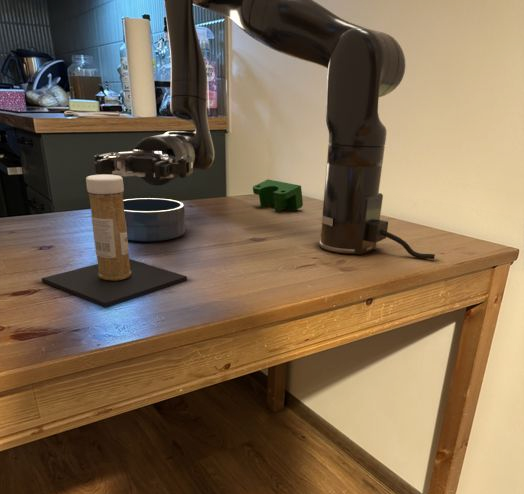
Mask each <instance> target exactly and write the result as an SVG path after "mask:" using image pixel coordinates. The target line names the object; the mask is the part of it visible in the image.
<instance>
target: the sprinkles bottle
mask: <svg viewBox="0 0 524 494" xmlns="http://www.w3.org/2000/svg"><path fill="white" fill-rule="evenodd" d="M85 182H86V191H87V192H88V197H89V205H90V212H91V215H90V217H91V225H92V232H93V240H94V250H95V255H96V260H97V264H98V268H99V273H98V276H99V277H100V278H101V279H103V280H108V281H118V280H124V279H126V278H128V277H130V276H131V270H130V263H129V259H130V249H129V240H128V239H127V229H126V220H125V214H124V204H123V200H124V191H125V187H124V179H123V176H119V175H118V174H111V175H107V174H102V175H98V174H92V175H88V176H86V177H85Z"/></svg>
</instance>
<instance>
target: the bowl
mask: <svg viewBox="0 0 524 494" xmlns="http://www.w3.org/2000/svg"><path fill="white" fill-rule="evenodd" d="M123 204H124V214H125V220H126V229H127V239H128V241H131V242H139V243H141V242H143V243H148V242H149V243H154V242H164V241H169V240H173V239H175V238H179V237H180V236H184V234H185V233H186V219H185V218H186V215H185V213H186V212H185V204H184V203H183V202H182V201H179V200H174V199H167V198H153V197H152V198H151V197H148V198H147V197H146V198H145V197H144V198H142V197H141V198H128V199H123Z"/></svg>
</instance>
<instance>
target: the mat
mask: <svg viewBox="0 0 524 494" xmlns="http://www.w3.org/2000/svg"><path fill="white" fill-rule="evenodd" d="M129 263H130V270H131V276H130V277H128V278H126V279H124V280H118V281H108V280H103V279H101V278H100V277H99V276H98V273H99V268H98V263H96V264H92V265H88V266H83V267H79V268H75V269H73V270H67V271H64V272H60V273H57V274H56V273H55V274H53V275H49V276H44V277H41V282H42V283H44V284H46V285H48V286H52V287H54V288H55V289H58V290H61V291H64V292H66V293H68V294H71V295H74V296H77V297H79V298H81V299H84V300H86V301H89V302H91V303H93V304H96V305H98V306H101V307H103V308H109V307H111V306H115V305H117V304H120V303H122V302H126V301H128V300H129V301H130V300H131V299H134V298H138V297H141V296H144V295H147V294H150V293H153V292H156V291H158V290H162V289H165V288H167V287H171V286H174V285H176V284H181V283H183V282H185V281H188V276H187V275H185V274H180V273H177V272H175V271H171V270H167V269H164V268H160V267H157V266H154V265H151V264H148V263H144V262H141V261H138V260H135V259H131V258H129Z"/></svg>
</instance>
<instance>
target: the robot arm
mask: <svg viewBox="0 0 524 494" xmlns="http://www.w3.org/2000/svg"><path fill="white" fill-rule="evenodd" d="M163 2H164V3H163V4H164V10H165V19H166V27H167V28H166V29H167V34H168V44H169V53H170V112H171V115H172V116H173V117H175V118H177V119H178V120H183V121H185V122H186V121H187V122H189V123H192V124H193V126H194V131H180V130H179V131H177V130H176V131H175V130H172V131H166V132H165V133H163V134H157V135H152V136H147V137H144V138H142V139H141V140H140V141H138V142H137V144H136V145H135V147H134V149H133V150H131V151H120V152H119V151H118V152H113V151H110V152H108V153H103V154H96V155H93V163H94V170H95V171H94V172H95V174H96V175H102V174H107V175H118V176H121V177H122V178H123V177H124V178H126V177H127V178H128V177H139V178H140V179H141V180H143V182H145V183H146V184H147V185H151V186H164V185H167V184H168V183H171V182H172V181H174V180H176V179H178V178H181V179H186V178H187V177H189V176H190V175H191V174H193V173H194V171H206V170H208V169H210V168H211V166H212V164H213V162H214V160H215V147H214V144H213V143H214V142H213V139H212V135H211V130H210V126H209V119H208V106H207V105H208V72H207V64H206V60H205V57H204V53H203V50H202V47H201V43H200V40H199V36H198V31H197V27H196V22H195V17H194V6H196V7H198V8H200V9H204V10H207V11H209V12H213V13H216V14H219V15H220V16H222V17H223V16H224V17H226V18H228V19H230V20H231V21H232V22H233V23H234V24H236V26H237V27H239V29H240V30H242V31H243V32H244V33H245V34H247V35H248V36H249V37H251V38H252V39H254V40H255V41H257V42H259V43H261V44H262V45H264V46H266V47H268V48H269V49H271V50H273V51H276V52H278V53H280V54H284V55H286V56H289V57H291V58H295V59H297V60H301V61H305V62H309V63H312V64H315V65H318V66H321V67H323V68H326V69H327V76H326V98H325V99H326V100H325V122H326V127H327V131H328V143H327V144H328V145H327V157H326V168H325V180H324V193H323V204H322V216H321V230H320V239H319V247H320V248H322V249H323V250H326V251H329V252H333V253H339V254H351V255H353V254H354V255H359V256H361V255H363V254H366V253H368V252H371V251H373V250H376V249H377V244H378V242H381V241H384V240H386V239H390V240H392V241H394V242H396V243H397V244H399V245H401V246H402V248H404V250H405V251H406V252H407V253H408V254H409V255H410V256H411V257H413V258H416V259H421V260H422V259H423V260H435V257H436V254H435V253H420V252H417V251H415V250H414V249H412V247H411V246H410V245H409V243H407V241H405V240H403V239H402V238H401V237H399V236H397V235H395V234H393V233H391V232H388V228H389V220H388V221H387V220H383V219H381V214H382V206H383V198H384V195H383V193H382V192H380V185H381V178H382V171H383V163H384V155H385V148H386V141H387V134H388V133H387V128H386V126H385V125H384V124H383V122H382V121H381V119H380V116H379V115H380V114H379V101H380V98H382V97H385V96H387V95H389V94H390V93H392V92H394V91H395V90H396V89H397V87H398V86H399V85H400V84H401V83H402V80H403V79H404V76H405V72H406V56H405V53H404V50H403V48H402V46H401V45H400V43H399V42H398V41H397V39H395V37H394V36H392V35H390V34H388V33H385V32H383V31H378V30H373V29H369V28H366V27H363V26H361V25H358V24H355V23H352V22H350V21H348V20H345V19H343V18H341V17H340V16H338V15H336V14H335V13H334V12H332V11H330V10H329V9H327V8H326V7H324V6H323V5H321V4H320V3H318V2H317V1H315V0H163Z"/></svg>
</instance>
